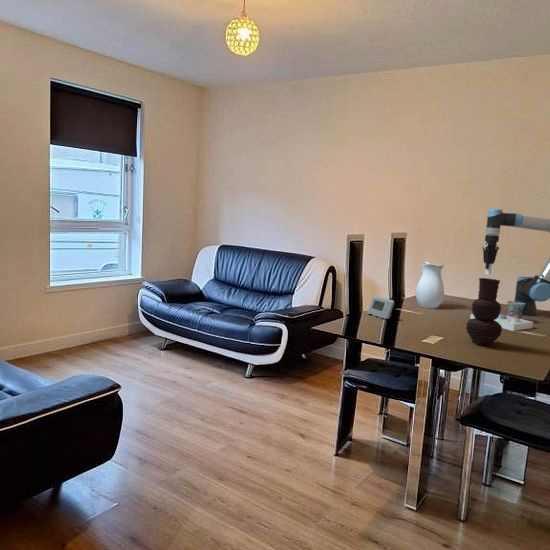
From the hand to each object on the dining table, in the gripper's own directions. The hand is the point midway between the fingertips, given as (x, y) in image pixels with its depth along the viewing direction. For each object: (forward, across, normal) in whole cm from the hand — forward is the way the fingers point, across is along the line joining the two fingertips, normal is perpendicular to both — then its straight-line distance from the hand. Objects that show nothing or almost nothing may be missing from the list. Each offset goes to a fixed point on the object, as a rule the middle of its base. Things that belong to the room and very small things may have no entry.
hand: (487, 274), depth 294 cm
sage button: (+24, +14, +29) cm, 40 cm away
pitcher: (+25, +15, -30) cm, 42 cm away
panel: (+24, +14, +21) cm, 35 cm away
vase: (+25, +64, +44) cm, 81 cm away
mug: (+25, -4, +18) cm, 31 cm away
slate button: (+24, +14, +21) cm, 35 cm away
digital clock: (+25, +72, -14) cm, 77 cm away
